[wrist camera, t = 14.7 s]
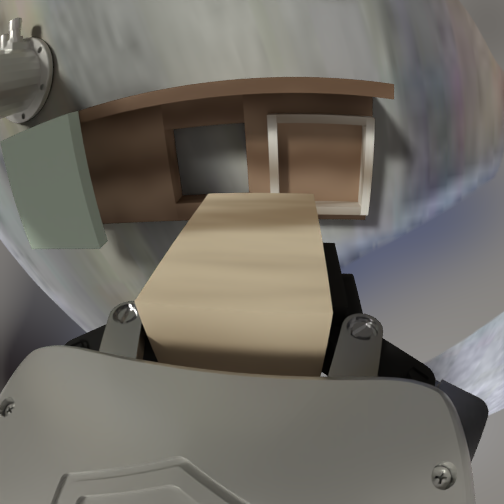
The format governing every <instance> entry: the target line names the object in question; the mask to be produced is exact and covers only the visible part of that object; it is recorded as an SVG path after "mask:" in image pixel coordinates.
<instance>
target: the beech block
mask: <svg viewBox="0 0 504 504" xmlns="http://www.w3.org/2000/svg"><path fill="white" fill-rule="evenodd" d="M135 305H136V308H137V310H138V313H139V316H140V318H141V321H142V324H143V326H144V329H145V331H146V334H147V336H148V339H149V341H150V344H151V346H152V349H153V351H154V353H155V356H156V358H157V360H158V363H164V364H171V365H177V366H184V367H192V368H199V369H208V370H216V371H226V372H236V373H248V374H262V375H279V376H308V377H320V375H321V371H322V366H323V362H324V357H325V352H326V348H327V343H328V338H329V332H330V327H331V322H332V316H333V310H332V302H331V295H330V288H329V281H328V274H327V267H326V261H325V254H324V248H323V242H322V236H321V231H320V225H319V220H318V214H317V209H316V204H315V199H314V194H297V193H209V194H208V195H207V196H206V198H205V199H204V200H203V202H202V203H201V205H200V206H199V207H198V209H197V210H196V211H195V213H194V214H193V216H192V217H191V218H190V220H189V221H188V223H187V224H186V225H185V227H184V228H183V230H182V231H181V232H180V234H179V235H178V237H177V238H176V240H175V241H174V243H173V244H172V245H171V247H170V248H169V250H168V251H167V253H166V254H165V256H164V257H163V259H162V260H161V262H160V263H159V265H158V266H157V268H156V269H155V271H154V272H153V274H152V275H151V277H150V278H149V280H148V281H147V283H146V284H145V286H144V288H143V289H142V291H141V292H140V294H139V295H138V297H137V299H136V300H135Z"/></svg>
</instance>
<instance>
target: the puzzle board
mask: <svg viewBox="0 0 504 504" xmlns="http://www.w3.org/2000/svg"><path fill="white" fill-rule="evenodd" d="M373 97H379V98H388V99H394V84H389V83H381V82H373V81H364V80H353V79H339V78H319V77H270V78H250V79H236V80H225V81H215V82H207V83H199V84H192V85H185V86H179V87H173V88H167V89H162V90H157V91H152V92H147V93H143V94H138V95H134V96H129V97H125V98H121V99H117V100H114V101H110V102H106V103H103V104H99V105H96V106H93V107H89V108H86V109H83V110H80V111H78V114H79V120H80V127H81V133H82V138H83V144H84V149H85V154H86V159H87V164H88V169H89V173H90V178H91V182H92V186H93V190H94V194H95V198H96V202H97V206H98V209H99V213H100V217H101V220H102V224H109V223H130V222H153V221H182V220H190V218H191V217H192V216H193V214H194V213H195V211H196V210H197V209H198V207H199V206H200V205H201V203H202V202H203V200H204V199H205V198H206V196H207V195H208V194H200V195H183V194H182V188H181V182H180V175H179V168H178V161H177V154H176V147H175V139H174V131H173V129H180V128H188V127H197V126H207V125H219V124H232V123H244V124H245V138H246V152H247V167H248V181H249V193H297V194H314V199H315V204H316V209H317V214H318V219H355V220H365V217H366V215H368V211H369V202H370V192H371V181H372V169H373V154H374V133H375V118H374V117H372V109H373Z"/></svg>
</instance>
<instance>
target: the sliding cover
mask: <svg viewBox="0 0 504 504" xmlns="http://www.w3.org/2000/svg"><path fill="white" fill-rule="evenodd" d="M1 147H2V152H3V157H4V162H5V166H6V170H7V174H8V178H9V182H10V186H11V189H12V193H13V196H14V200H15V203H16V206H17V209H18V212H19V215H20V218H21V221H22V224H23V227H24V230H25V232H26V235H27V238H28V240H29V243H30V246H31V248H32V249H100V248H101V247H102V246H103V245H104V244H105V243H106V242H107V241H108V240H107V237H106V234H105V231H104V227H103V224H102V220H101V217H100V213H99V209H98V206H97V202H96V198H95V194H94V190H93V186H92V182H91V178H90V173H89V169H88V164H87V159H86V154H85V149H84V144H83V138H82V133H81V127H80V120H79V114H78V111H76V112H72V113H68V114H65V115H62V116H60V117H57V118H54V119H52V120H49V121H46V122H44V123H41V124H39V125H36V126H34V127H32V128H29V129H27V130H25V131H22V132H20V133H18V134H16V135H14V136H11V137H9V138H7V139H5V140H3V141H1Z"/></svg>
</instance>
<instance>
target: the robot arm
mask: <svg viewBox="0 0 504 504" xmlns="http://www.w3.org/2000/svg"><path fill="white" fill-rule="evenodd" d="M21 22H22V18H15V19H13V20H11V21H10V22H9V34H8V33H7V34H4V35H2V36H1V38H0V44H1V50H0V119H1V118H4V117H6V118H7V119H8V120H9V121H11V122H13V123H22V122H25V121H28V120H30V119H31V118H33V117H34V116H35V115H36V114H37V113H38V112H39V111H40V109H41V108H42V107H43V105H44V103H45V101H46V99H47V96H48V94H49V91H50V87H51V83H52V76H53V60H52V55H51V52H50V49H49V47H48V45H47V44H46V43H45V42H44V41H43V40H42V39H40V38H35V37H30V38H25V39H23V36H20V33H21ZM323 248H324V254H325V261H326V267H327V274H328V281H329V288H330V295H331V302H332V310H333V316H332V322H331V327H330V332H329V338H328V343H327V348H326V352H325V357H324V362H323V366H322V371H321V372H323V373H324V374H326V375H327V376H328V377H308V376H279V375H262V374H248V373H236V372H226V371H216V370H208V369H199V368H192V367H184V366H177V365H171V364H164V363H158V360H157V358H156V356H155V353H154V351H153V349H152V346H151V344H150V341H149V339H148V336H147V334H146V331H145V329H144V326H143V324H142V321H141V318H140V316H139V313H138V310H137V308H136V305H135V301H128V302H123V303H121V304H119V305H117V306H116V307H114V308H113V309H112V311H111V312H110V314H109V317H108V321H107V324H106V325H104V326H101V327H99V328H97V329H95V330H92V331H90V332H88V333H86V334H83V335H81V336H79V337H77V338H75V339H72V340H70V341H69V342H67V343H66V344H65V345H64V346H61V345H58V346H57V345H55V346H47V347H43V348H39V349H36V350H34V351H33V352H31V353H30V354H29V355H28V356H27V357H26V358H25V359H24V360H23V362H22V363H21V364H20V365H19V367H18V368H17V369H16V371H15V372H14V374H13V375H12V376H11V378H10V379H9V381H8V383H7V384H6V386H5V388H4V389H3V391H2V392H1V394H0V504H475V493H474V483H473V475H472V468H471V461H472V459H473V457H474V454H475V452H476V449H477V447H478V444H479V441H480V439H481V436H482V433H483V430H484V427H485V424H486V421H487V418H488V412H489V411H488V407H487V405H486V403H485V402H484V401H483V400H482V399H480V398H479V397H477V396H474V395H472V394H470V393H468V392H466V391H464V390H462V389H460V388H458V387H456V386H454V385H452V384H450V383H448V382H446V381H444V380H441V382H439V381H437V380H435V376H434V374H433V372H432V371H431V369H430V368H428V367H427V366H426V365H424V364H423V363H421V362H419V361H418V360H416V359H415V358H413V357H412V356H410V355H409V354H407V353H405V352H404V351H402V350H400V349H399V348H397V347H396V346H394V345H393V344H391V343H389V342H388V341H386V340H385V339H383V338H382V336H383V328H382V325H381V323H380V322H379V321H378V320H377V319H376V318H374V317H372V316H370V315H367V314H363V313H362V309H361V304H360V300H359V296H358V292H357V288H356V284H355V280H354V276H353V274H341V269H340V265H339V260H338V256H337V251H336V247H335V243H323Z"/></svg>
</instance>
